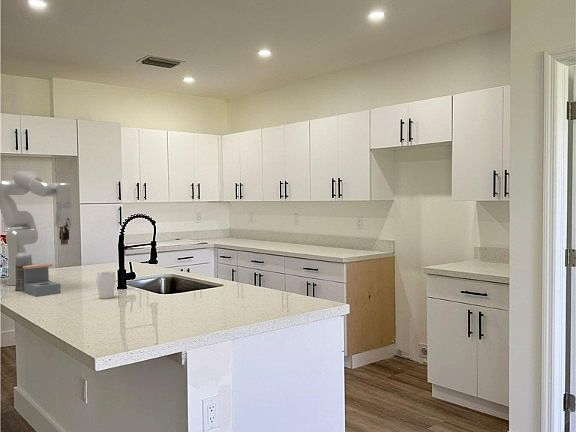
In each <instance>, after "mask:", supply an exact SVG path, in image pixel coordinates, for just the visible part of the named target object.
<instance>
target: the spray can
mask: <svg viewBox="0 0 576 432" xmlns="http://www.w3.org/2000/svg"><path fill="white" fill-rule="evenodd" d="M28 265H33V259H32V253H30V252H28V251H27V252H26V253H18V254H17V255H16V267H15V268H16V285H15V291H18V292H21V291H22V292H23V291H24V268H23V266H28Z"/></svg>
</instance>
